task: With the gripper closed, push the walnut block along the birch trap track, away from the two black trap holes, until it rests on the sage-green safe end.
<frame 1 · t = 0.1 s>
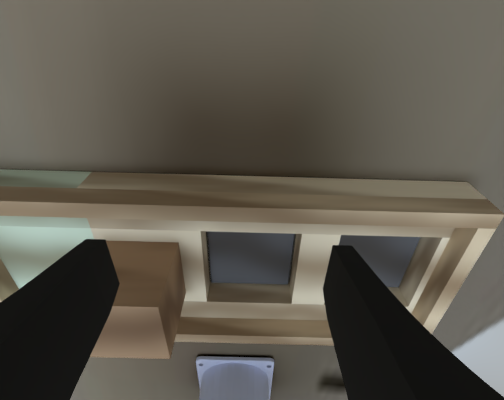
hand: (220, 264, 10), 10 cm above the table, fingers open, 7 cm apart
walnut block: (146, 268, 21), point 2 cm above the table, touching trap track
trap track: (220, 250, 23), on the table
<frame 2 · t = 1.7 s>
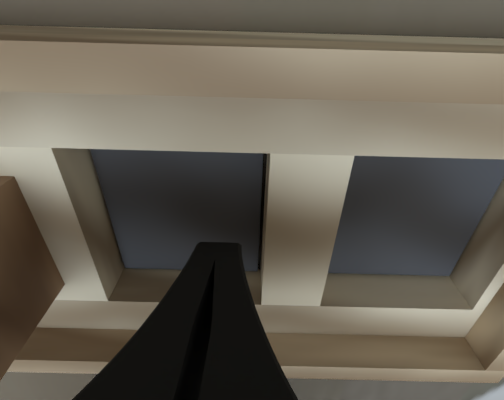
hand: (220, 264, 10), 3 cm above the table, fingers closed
trap track: (131, 207, 13), on the table
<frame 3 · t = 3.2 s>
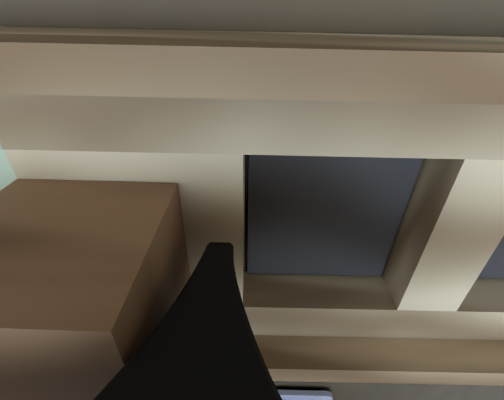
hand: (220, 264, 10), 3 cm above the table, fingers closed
walnut block: (115, 241, 11), point 2 cm above the table, touching gripper, trap track
trap track: (268, 212, 12), on the table
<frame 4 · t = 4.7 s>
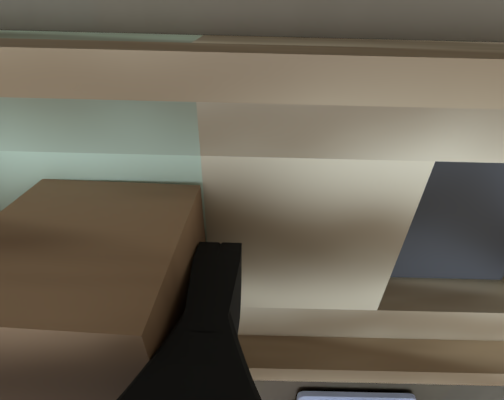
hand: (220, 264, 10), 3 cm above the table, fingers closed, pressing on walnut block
walnut block: (136, 242, 11), point 2 cm above the table, touching gripper, trap track
trap track: (405, 216, 13), on the table
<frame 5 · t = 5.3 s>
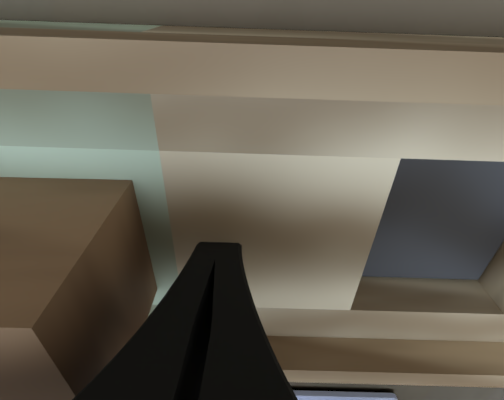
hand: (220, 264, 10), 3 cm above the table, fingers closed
walnut block: (75, 239, 11), point 2 cm above the table, touching trap track
trap track: (379, 215, 12), on the table
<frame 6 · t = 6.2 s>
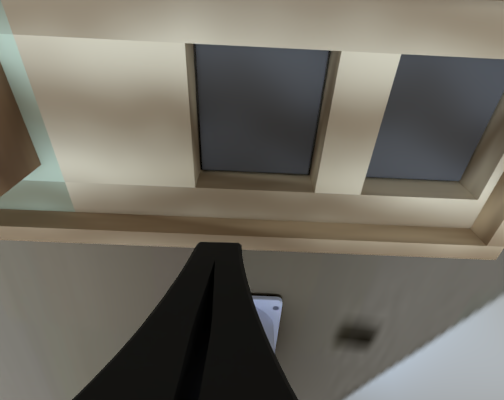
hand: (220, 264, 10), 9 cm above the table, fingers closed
trap track: (216, 112, 16), on the table
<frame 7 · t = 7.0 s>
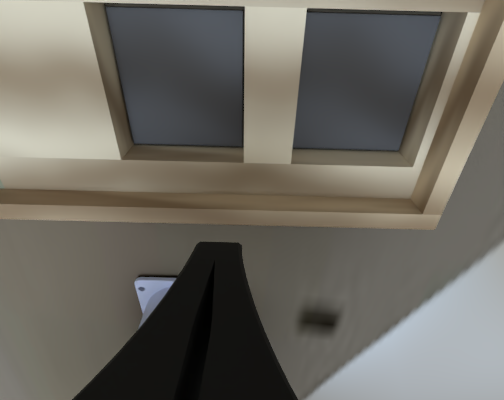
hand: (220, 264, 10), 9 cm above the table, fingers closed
trap track: (139, 82, 16), on the table
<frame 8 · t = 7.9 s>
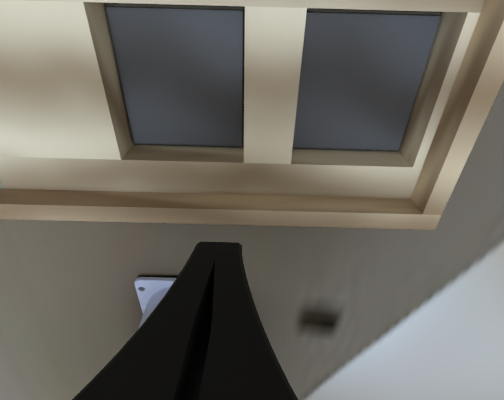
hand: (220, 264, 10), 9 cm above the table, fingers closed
trap track: (139, 82, 16), on the table
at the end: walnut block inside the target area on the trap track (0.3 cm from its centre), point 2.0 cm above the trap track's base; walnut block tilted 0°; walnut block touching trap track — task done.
